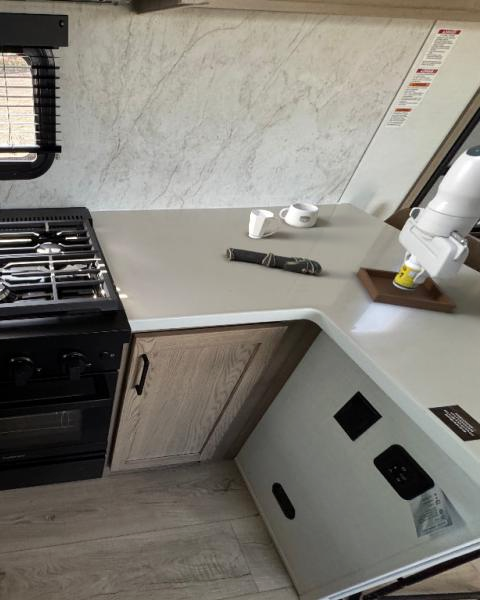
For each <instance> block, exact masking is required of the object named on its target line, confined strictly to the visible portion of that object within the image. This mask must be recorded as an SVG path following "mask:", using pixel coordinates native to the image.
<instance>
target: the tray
mask: <svg viewBox="0 0 480 600" xmlns="http://www.w3.org/2000/svg"><path fill="white" fill-rule="evenodd" d="M398 273H399V271H393V270H387V269H386V270H385V269H378V268H370V267H364V266H363V267H362V266H360V267H359V269H358V271H357V272H356V276H357V278H358V279H359V281H360V283H361V285H362V286H363V288H364V289H365V291H366V293H367V294H368V296H369V297H370V299H371V301H372V302H373V303H377V304H383V305H392V306H397V307H405V308H411V309H417V310H424V311H430V312H437V313H443V314H452V312H453V311H454V310H455V309H456V307H457V304H456V303H455V302H454V301H453V300H452V299H451V298H450V297H449V296H448V294H446V292H445V291H444V290H443V289H442V288H441V287H440V286H439V284H438V283H436V281H434V279H433V277H431V276H429V277H428V278H426V279H425V281H424V282H423V283H422V284H419V285H418V287H417V288H416V289H415V290H412V291H410V290H404V289H401V288H398V287H396V286H395V285H394V284H393V281H394V279H395V277H396V276H397V274H398Z"/></svg>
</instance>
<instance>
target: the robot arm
mask: <svg viewBox="0 0 480 600" xmlns="http://www.w3.org/2000/svg"><path fill="white" fill-rule="evenodd" d="M479 220H480V144H478V145H477V144H476V145H474V146H471V147H469V148H467V149H466V150H465V151H463V152H462V153H461V154H460V155H459V156H458V158H456V160H455V161H454V162H453V164H452V165H451V166H450V168H449V169H448V171H447V172H446V174H445V175H444V177H443V179H442V180H441V181H440V184H439V185H438V189H437V192H436V194H435V196H433V198H432V200H430V201H429V202H428V204H427V205H426V206H425V207H419V206H418V207H415V206H414V207H413V208H411V210H410V212H409V218H408V219H407V220H406V221H405V224H404V225H403V227H402V229H401V230H400V233H399V236H398V242H399V243H400V244H401V245H402V246H403V248H405V250H406V251H405V255H404V261H403V262H402V264H401V267H400V268H402V266H403V265H404V263H405V262H406V261H407V260H409V258H410V257H411V255H412V254H413V255H414V256H415V257H416V260H417V261H418V263H419V264H420V265H421V266H422V268H421V272H420V273H418V274H414V276H413V277H412V280H413V281H414V283H418V284H422V283H423V282H424V281H425V279H426V278H428V277H429V276H430V277H431V278H432V279H438V280H439V279H440V280H452V279H454V278H455V277H456V276H457V275H458V273H459V272H460V270H461V268H462V267H463V266H464V263H465V262H466V259H467V258H468V256H469V253H470V249H469V247H468V243H469V240H468V239H467V238H466V237H468V235H469V234H470V232H471V231H472V229H473V228H474V227H475V225H477V223H478V221H479Z"/></svg>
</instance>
